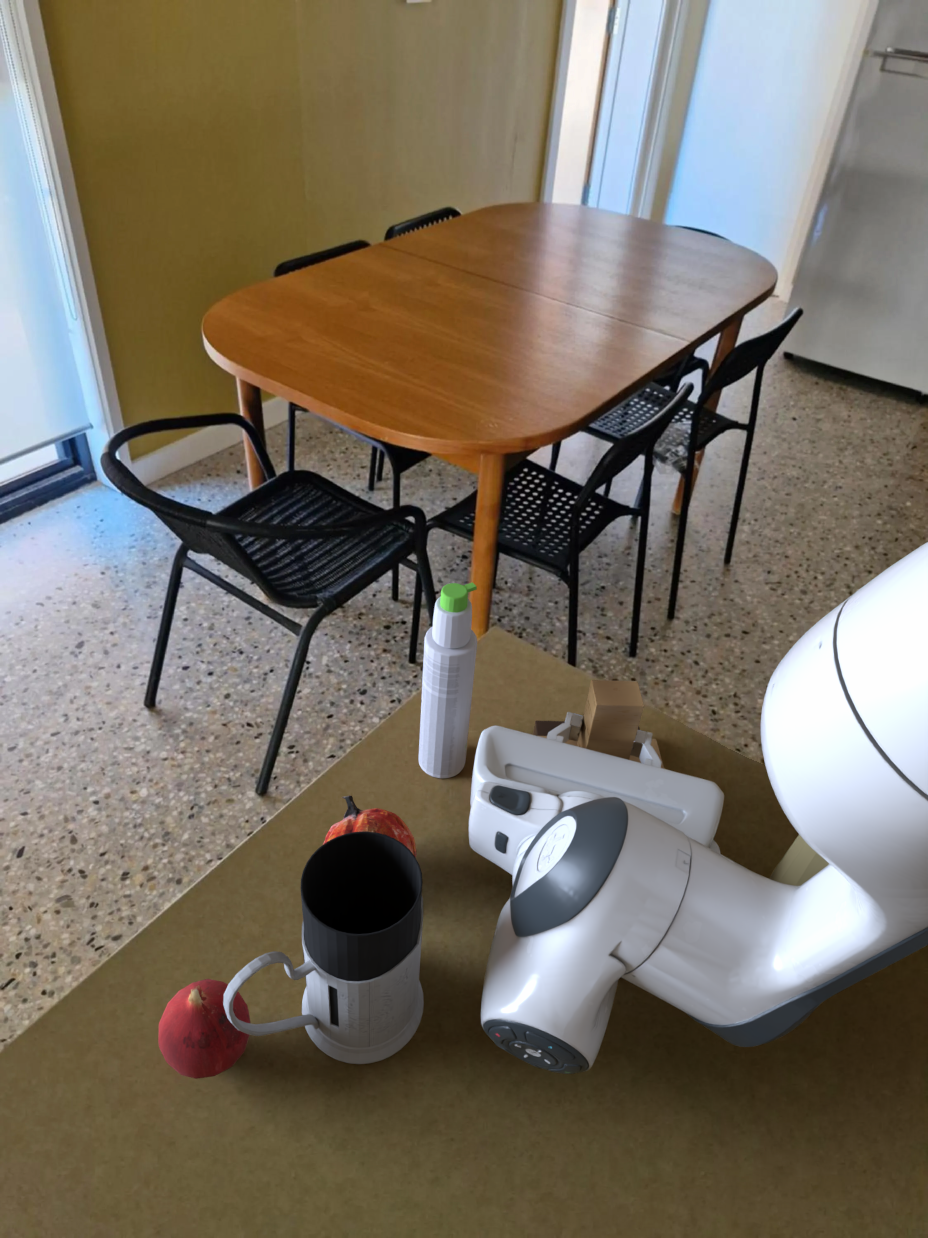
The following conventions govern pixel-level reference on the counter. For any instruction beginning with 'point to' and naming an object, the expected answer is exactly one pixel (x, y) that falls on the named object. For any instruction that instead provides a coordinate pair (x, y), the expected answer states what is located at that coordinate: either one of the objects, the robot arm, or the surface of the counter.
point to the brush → (612, 719)
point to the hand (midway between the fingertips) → (608, 727)
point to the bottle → (447, 683)
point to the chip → (545, 727)
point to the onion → (202, 1030)
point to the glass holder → (354, 950)
